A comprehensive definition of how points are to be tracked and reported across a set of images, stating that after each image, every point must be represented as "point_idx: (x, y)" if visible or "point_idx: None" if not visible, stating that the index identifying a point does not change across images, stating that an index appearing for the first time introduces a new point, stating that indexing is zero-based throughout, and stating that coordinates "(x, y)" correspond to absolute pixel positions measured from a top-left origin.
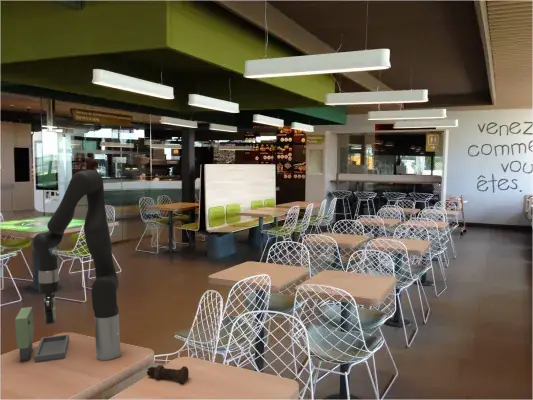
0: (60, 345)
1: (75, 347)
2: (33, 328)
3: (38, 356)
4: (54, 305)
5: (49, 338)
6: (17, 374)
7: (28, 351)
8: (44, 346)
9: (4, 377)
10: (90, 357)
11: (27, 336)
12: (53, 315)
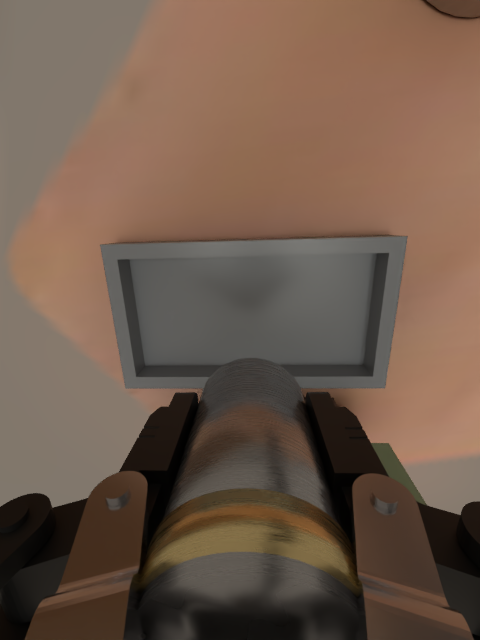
0: (210, 279)
1: (245, 191)
2: None
3: (387, 369)
4: (228, 585)
5: (134, 347)
6: (465, 417)
7: None
8: (200, 356)
9: (467, 455)
10: (450, 68)
11: None
12: (306, 432)
